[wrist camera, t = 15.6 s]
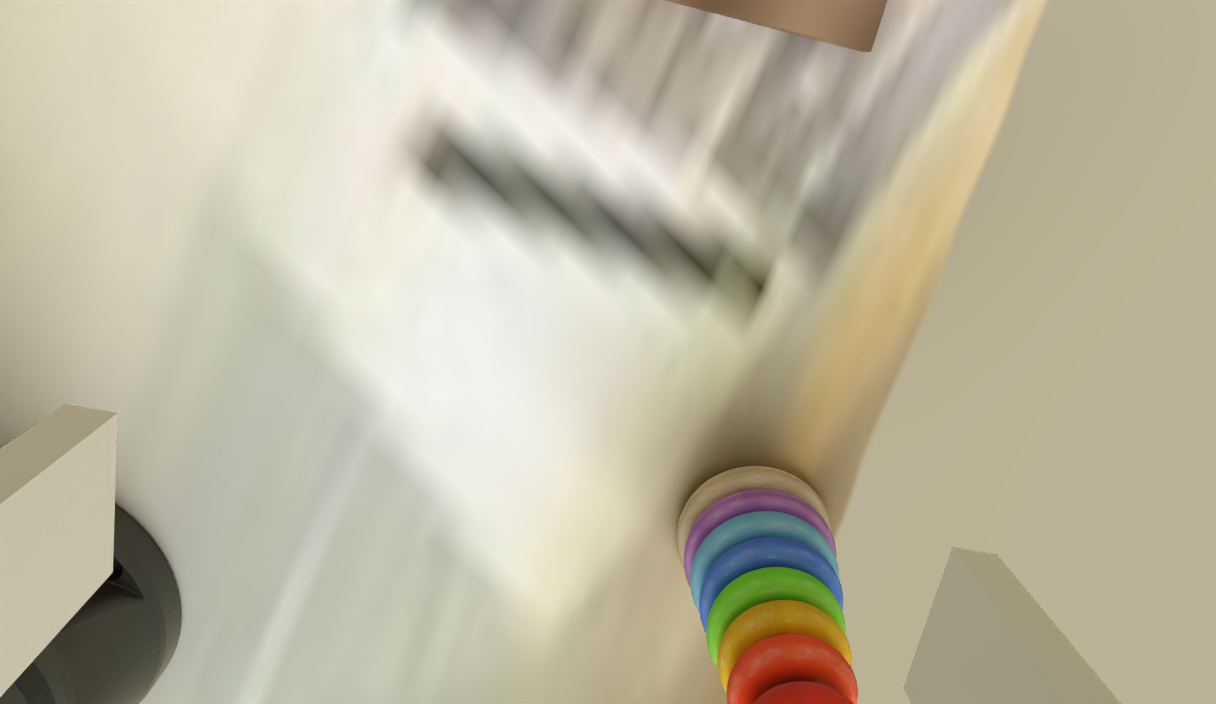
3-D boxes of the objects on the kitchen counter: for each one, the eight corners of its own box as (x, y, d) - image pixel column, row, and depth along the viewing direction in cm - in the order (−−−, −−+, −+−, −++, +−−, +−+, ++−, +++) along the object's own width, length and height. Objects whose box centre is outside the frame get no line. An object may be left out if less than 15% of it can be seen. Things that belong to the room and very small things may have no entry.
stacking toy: (775, 430, 46) (882, 670, 28) (853, 545, 48) (998, 835, 31) (645, 510, 48) (670, 786, 30) (727, 617, 50) (795, 935, 32)
